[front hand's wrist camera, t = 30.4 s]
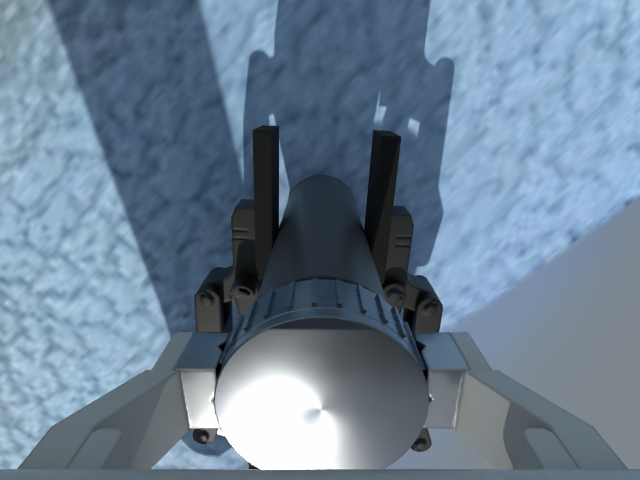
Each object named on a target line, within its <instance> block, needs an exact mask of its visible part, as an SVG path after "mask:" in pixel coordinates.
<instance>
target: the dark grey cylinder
mask: <svg viewBox="0 0 640 480" xmlns="http://www.w3.org/2000/svg"><path fill="white" fill-rule="evenodd" d="M313 278H317V279H328V280H336V279H340V281H343V282H347V283H351V284H355V285H358V284H360V285H362V288H365V289H367V290H369V291H371V292H373V293H374V294H376V295H377V294H378V293H379V294H380V295H381V296H382V299H383V300H385V301H386V298H385V295H384V292H383V288H382V285H381V282H380V279H379V276H378V273H377V270H376V267H375V264H374V260H373V257H372V254H371V251H370V248H369V245H368V242H367V239H366V236H365V232H364V229H363V226H362V223H361V220H360V217H359V214H358V211H357V208H356V205H355V201H354V198H353V196H352V193H351V192H350V190H349V189H348V187H347V186H346V185H345V184H344V183H343V182H341V181H340V180H338V179H336V178H334V177H331V176H326V175H316V176H312V177H309V178H306V179H304V180H303V181H301V182H300V183H299V184H298V185H297V186H296V187H295V188H294V189H293V191H292V192H291V194H290V197H289V199H288V203H287V206H286V209H285V212H284V215H283V218H282V221H281V224H280V228H279V231H278V234H277V237H276V240H275V243H274V246H273V249H272V253H271V256H270V259H269V262H268V265H267V268H266V271H265V274H264V278H263V281H262V284H261V287H260V290H259V293H258V296H257V299H256V301H258V300H259V299H261V298H262V297H263V296H265V295H266V294H268V293H269V290H271V289H274V290H276V289H278V288H280V287H283V286H285V285H288V284H290V282H292V281H294V282H300V281H304V280H313ZM386 302H387V301H386Z"/></svg>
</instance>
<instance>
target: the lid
mask: <svg viewBox="0 0 640 480" xmlns="http://www.w3.org/2000/svg"><path fill="white" fill-rule="evenodd" d="M219 364H222V366H221V369H220V372H219V374H218V377H217V381H216V385H215V389H214V409H215V414H216V418H217V422H218V424H219V427H220V429H221V431H222V433H223V435H224V436H225V438H226V440H227V441H228V443H229V444H230V445H231V446H232V447H233V448H234V450H235V451H236V452H237V453H238V454H240V455H241V456H242V457H243V458H244V459H245V460H247V461H248V462H250V463H251V464H252V465H254V466H256V467H257V468H259V469H384V468H386V467H387V466H389V465H390V464H392V463H394V462H395V461H396V460H398V459H399V458H400V457H401V456H402V455H404V454H405V453H406V451H408V449H409V448H410V447H411V446H412V445H413V444H414V442H415V441H416V439H417V438H418V437H419V435H420V433H421V431H422V429H423V427H424V424H425V421H426V418H427V414H428V407H429V391H428V386H427V381H426V379H425V376H424V373H425V367H424V364H423V362H422V359H421V356H420V353H419V351H418V348H417V346H416V343H415V341H414V338H413V336H412V333H411V330H410V328H409V325H408V323H407V322H403V320H402V319H401V317H400V316H399V313H398V310H397V308H396V307H395V306H394V307H391V306H390V305H389V304H388V303H387V302H386V301H385V300H383V299H382V296H381V295H380V294H379V293H378V294H377V295H376V294H374V293H373V292H371V291H369V290H367V289H365V288H362V285H360V284H358V285H355V284H351V283H347V282H343V281H340V279H336V280H328V279H317V278H313V280H304V281H300V282H294V281H292V282H290V284H288V285H285V286H283V287H280V288H278V289H276V290H274V289H271V290H269V293H268V294H266V295H265V296H263V297H262V298H261V299H259V300H258V301H256V300H254V301H253V302H252V304H251V307H250V308H249V309H248V310H247V312H246V313H245V314H244V315H240V316H239V318H238V321H237V323H236V326H235V329H234V331H231V333H230V336H229V338H228V341H227V343H226V346H225V349H224V351H223V354H222V356H221V359H220V362H219Z"/></svg>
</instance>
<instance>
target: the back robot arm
mask: <svg viewBox="0 0 640 480" xmlns="http://www.w3.org/2000/svg"><path fill="white" fill-rule="evenodd" d="M400 143H401V137H400V136H398V135H396V134H394V133H392V132H390V131H377V130H373V139H372V150H371V161H370V172H369V183H368V195H367V206H366V217H365V228H364V232H365V236H366V239H367V242H368V245H369V248H370V251H371V254H372V257H373V260H374V264H375V267H376V270H377V273H378V276H379V279H380V282H381V285H382V288H383V292H384V295H385V298H386V301H387V303H388V304H389V305H390V306H391V307H394V306H395V307H396V308H397V310H398V313H399V314H400V312H401V309H402V307H404V311H403V319H402V320H403V322H407V323H408V325H409V328H410V330H411V333H439V329H440V323H441V317H442V311H443V306H442V304H441V302H440V300H439V298H438V296H437V295H436V293H435V291H434V289H433V288H432V286H431V284H430V283H429V281H428V280H427V278H425V277H424V276H421V275H417V276H413V275H411V274H408V273H407V270H408V263H409V256H410V249H411V241H412V234H413V227H414V225H413V221H412V218H411V215H410V213H409V212H408V211H407V209H406V208H405V207H404V206H393V203H394V194H395V186H396V177H397V169H398V160H399V151H400ZM253 164H254V200H246V199H241V201H240V202H239V203H238V205H237V206H236V207H235V210H234V212H233V215H232V217H231V223H232V246H233V266H230V267H227V268H221V267H216V268H214V269H212V270H211V271H210V273H209V274H208V276H207V277H206V279H205V280H204V282H203V283H202V285H201V287H200V288H199V290H198V291H197V293H196V295H195V299H194V302H195V316H196V331H197V332H229V333H231V331H233V321H232V300H235V302H236V306H237V309H238V312H239V316H240V315H244V314H245V313H246V312H247V310H248V309H249V308H250V307H251V304H252V302H253V301H254V300H256V299H257V296H258V293H259V290H260V287H261V284H262V281H263V278H264V274H265V271H266V268H267V265H268V262H269V259H270V256H271V253H272V249H273V246H274V243H275V240H276V237H277V234H278V231H279V126H264V125H263V126H261V127H259V128H257V129H254V130H253ZM216 434H218V435H221V436H224V435H223V433H222V431H221V429H220V428H198V429H194V432H193V438H194V440H195V441H197V442H198V443H200V444H209V443H211V442H212V441H213V440H214V438H215V436H216ZM224 437H225V436H224ZM430 446H431V439H430V436H429V432H428V429H427V428H423V429H422V431H421V433H420V435H419V437H418V438H417V439H416V441H415V442H414V444H413V445H412V446H411V448H412V449H413V450H414V451H417V452H423V451H426V450H428V449H429V448H430ZM248 463H249V469H259V468H257V467H256V466H254V465H252V464H251V463H250V462H248Z"/></svg>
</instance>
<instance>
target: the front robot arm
mask: <svg viewBox="0 0 640 480" xmlns="http://www.w3.org/2000/svg"><path fill="white" fill-rule="evenodd" d="M229 336H230V333H229V332H177V333H175V334H174V335H173V336H172V338H171V340H170V341H169V343H168V344H167V346H166V348H165V349H164V351H163V352H162V354H161V356H160V357H159V359H158V361H157V362H156V364H155V365H154V367H153V369H152V370H146V371H144V372H142V373H141V374H139V375H137V376H136V377H134V378H132V379H130V380H129V381H127V382H125V383H124V384H122V385H120V386H119V387H117V388H115V389H114V390H112V391H110V392H109V393H107V394H105V395H104V396H102V397H100V398H99V399H97V400H95V401H94V402H92V403H90V404H89V405H87V406H85V407H84V408H82V409H80V410H79V411H77V412H75V413H74V414H72V415H70V416H68V417H67V418H65V419H63V420H62V421H60V422H58V423H57V424H55V425H53V426H52V427H51V428H50V429H49V431H48V432H47V433H46V434H45V436H44V437H43V438H42V439H41V440H40V442H39V443H38V444H37V445H36V447H35V448H34V449H33V450H32V451H31V453H30V454H29V455H28V456H27V458H26V459H25V460H24V461H23V462H22V464H21V465H20V466H19V467H18V469H0V480H640V469H628V468H627V467H626V466H625V464H624V463H623V462H622V461H621V460H620V458H619V457H618V456H617V455H616V454H615V452H614V451H613V450H612V449H611V448H610V446H609V445H608V444H607V443H606V441H605V440H604V439H603V438H602V437H601V435H600V434H599V433H598V432H597V431H596V429H595V428H594V427H593V426H591V425H589V424H588V423H586V422H584V421H583V420H581V419H579V418H578V417H576V416H574V415H573V414H571V413H569V412H567V411H566V410H564V409H562V408H561V407H559V406H557V405H556V404H554V403H552V402H551V401H549V400H547V399H546V398H544V397H542V396H540V395H539V394H537V393H535V392H534V391H532V390H530V389H529V388H527V387H525V386H524V385H522V384H520V383H519V382H517V381H515V380H513V379H512V378H510V377H508V376H507V375H505V374H503V373H502V372H500V371H498V370H492V369H491V367H490V366H489V364H488V363H487V361H486V359H485V358H484V356H483V355H482V353H481V352H480V350H479V349H478V347H477V346H476V344H475V342H474V341H473V339H472V338H471V336H470V335H469V333H467V332H446V333H412V336H413V338H414V341H415V343H416V346H417V348H418V351H419V353H420V356H421V359H422V362H423V364H424V367H425V373H424V376H425V379H426V381H427V386H428V391H429V407H428V414H427V418H426V421H425V424H424V427H423V428H445V429H455V431H456V432H457V433H458V434H459V435H460V436H461V437H462V438H463V439H464V440H465V441H466V442H467V443H468V444H469V445H470V446H471V447H472V448H473V449H474V450H475V451H476V452H477V453H478V454H479V455H480V456H481V457H482V458H483V459H484V460H485V461H486V462H487V463H488V464H489V465H490V466H491V467H492V468H493V469H151V468H152V467H153V466H154V465H155V464H156V463H157V462H158V461H159V460H160V459H161V458H162V457H163V456H164V455H165V454H166V453H167V452H168V451H169V450H170V449H171V448H172V447H173V446H174V445H175V444H176V443H177V442H178V441H179V440H180V439H181V438H182V437H183V436H184V435H185V434H186V433H187V432H188V431H189V429H198V428H220V427H219V424H218V422H217V418H216V414H215V409H214V389H215V385H216V381H217V377H218V374H219V372H220V369H221V366H222V364H219V362H220V359H221V356H222V354H223V351H224V349H225V346H226V343H227V341H228V338H229Z"/></svg>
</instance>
